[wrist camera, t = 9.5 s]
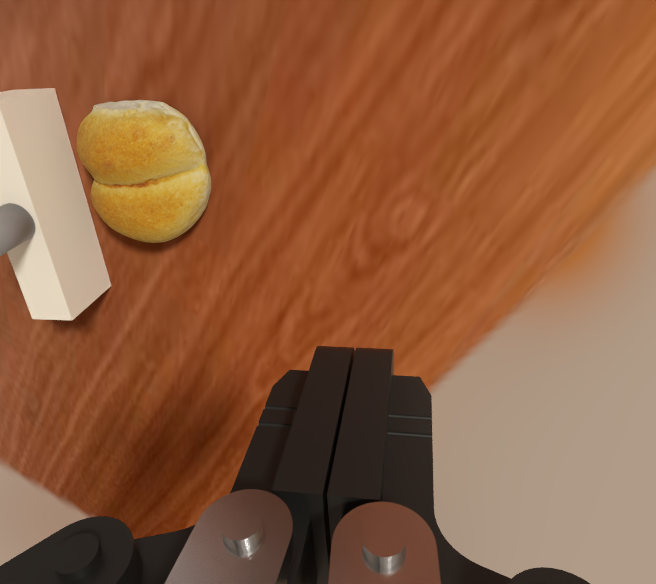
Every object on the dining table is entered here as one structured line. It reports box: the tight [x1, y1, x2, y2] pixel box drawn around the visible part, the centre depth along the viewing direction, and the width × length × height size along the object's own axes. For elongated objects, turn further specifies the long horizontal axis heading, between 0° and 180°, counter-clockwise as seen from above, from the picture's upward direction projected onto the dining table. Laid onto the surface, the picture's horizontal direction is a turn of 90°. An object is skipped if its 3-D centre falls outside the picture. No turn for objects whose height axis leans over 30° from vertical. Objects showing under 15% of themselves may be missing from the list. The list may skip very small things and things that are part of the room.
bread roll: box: [77, 100, 211, 243], centre depth 32 cm, size 8×9×4 cm
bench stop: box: [0, 88, 111, 320], centre depth 32 cm, size 14×3×8 cm, turn 3°
